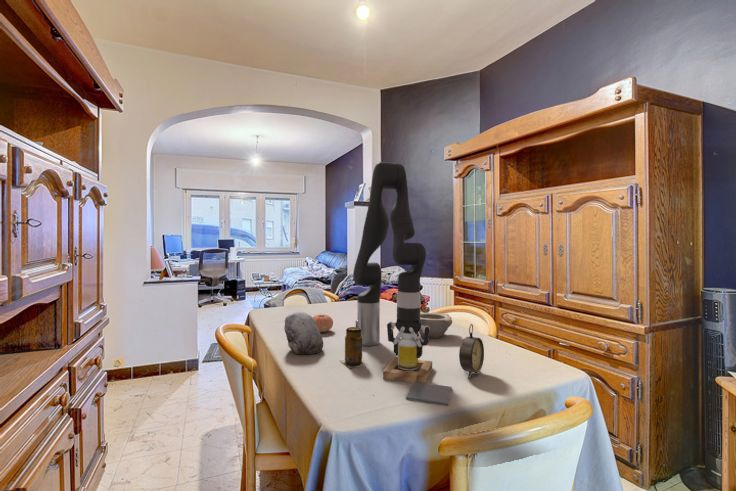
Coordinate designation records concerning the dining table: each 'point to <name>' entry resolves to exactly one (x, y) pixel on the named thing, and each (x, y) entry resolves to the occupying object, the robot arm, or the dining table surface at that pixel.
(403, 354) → the pill bottle
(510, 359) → the dining table surface
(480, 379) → the dining table surface
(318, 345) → the stone
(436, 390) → the slate coaster
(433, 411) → the dining table surface
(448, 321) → the mortar
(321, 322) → the tomato
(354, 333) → the condiment
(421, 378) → the wooden square frame
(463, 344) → the alarm clock
